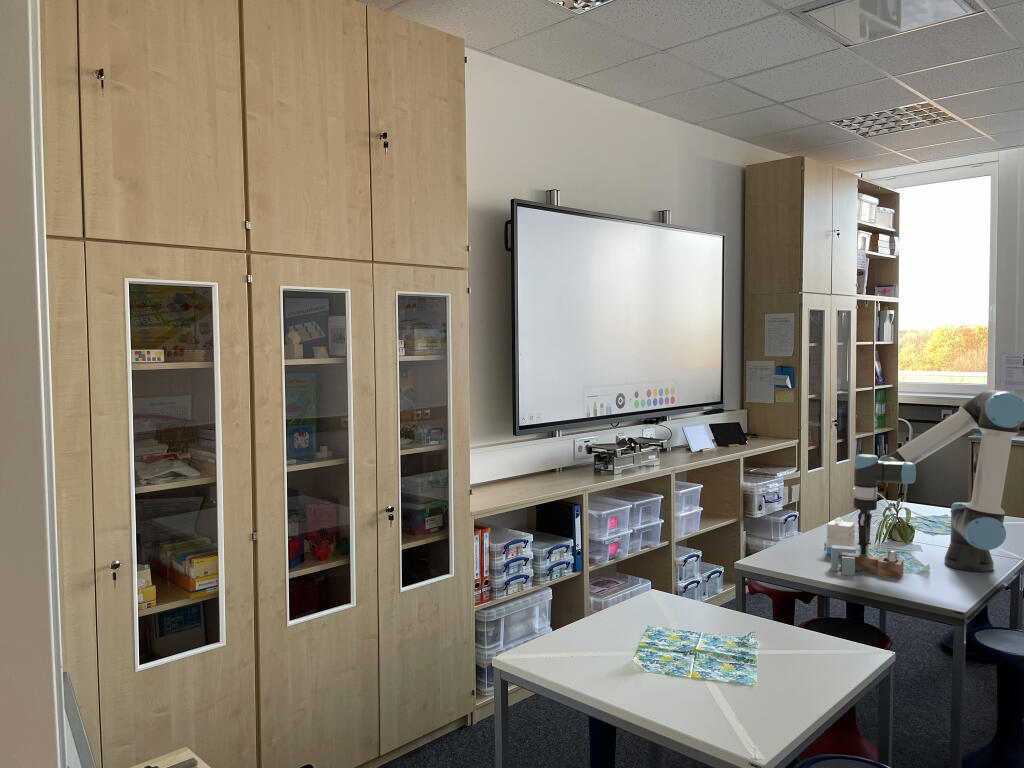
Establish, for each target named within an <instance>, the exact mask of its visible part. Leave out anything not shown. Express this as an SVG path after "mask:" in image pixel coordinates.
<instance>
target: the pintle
mask: <svg viewBox="0 0 1024 768" xmlns="http://www.w3.org/2000/svg"><path fill="white" fill-rule="evenodd" d="M897 553H898V552H897V551H896V550H893V549H892V550H887V557H888V562H894V563H897V559H898V558H897V557H898V556H897V555H898V554H897Z"/></svg>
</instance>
